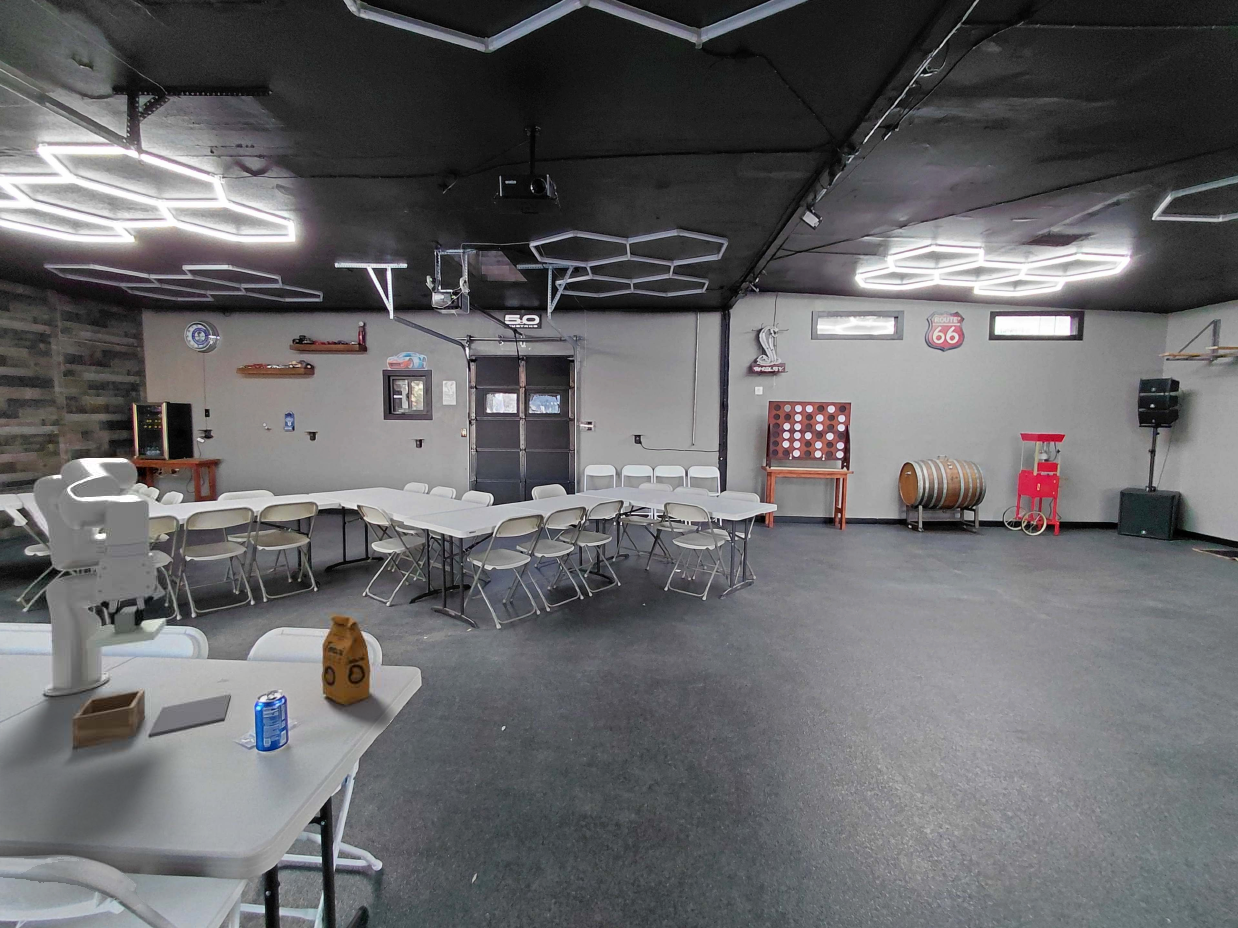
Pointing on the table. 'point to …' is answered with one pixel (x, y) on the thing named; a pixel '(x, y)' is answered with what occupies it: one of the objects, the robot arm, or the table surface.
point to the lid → (126, 630)
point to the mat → (190, 714)
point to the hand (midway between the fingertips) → (128, 624)
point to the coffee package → (345, 662)
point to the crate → (108, 718)
